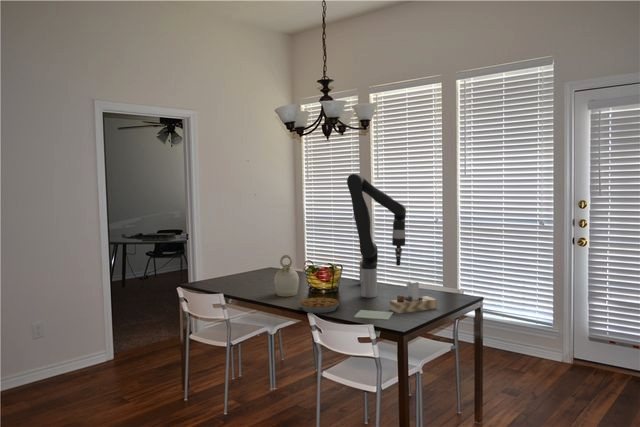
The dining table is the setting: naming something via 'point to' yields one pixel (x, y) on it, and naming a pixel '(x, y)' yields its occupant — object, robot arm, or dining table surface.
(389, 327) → the dining table surface
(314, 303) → the pie
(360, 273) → the skincare box
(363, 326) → the dining table surface
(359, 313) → the mat
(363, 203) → the robot arm
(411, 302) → the beige notched block
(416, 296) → the lever cap
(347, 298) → the dining table surface
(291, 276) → the jug
